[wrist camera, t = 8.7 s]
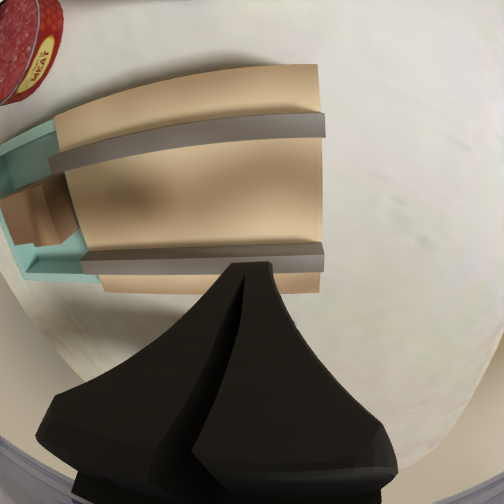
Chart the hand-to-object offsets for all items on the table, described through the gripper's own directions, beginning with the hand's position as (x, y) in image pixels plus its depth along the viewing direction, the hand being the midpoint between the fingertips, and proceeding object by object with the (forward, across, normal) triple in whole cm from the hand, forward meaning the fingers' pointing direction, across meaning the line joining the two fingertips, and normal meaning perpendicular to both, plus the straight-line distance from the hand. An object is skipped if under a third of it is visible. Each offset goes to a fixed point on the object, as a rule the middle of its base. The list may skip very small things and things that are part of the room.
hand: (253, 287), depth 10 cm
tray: (+9, +17, -2) cm, 19 cm away
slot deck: (+9, +4, -2) cm, 10 cm away
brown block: (+7, +16, -2) cm, 17 cm away
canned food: (+10, +18, -16) cm, 26 cm away
